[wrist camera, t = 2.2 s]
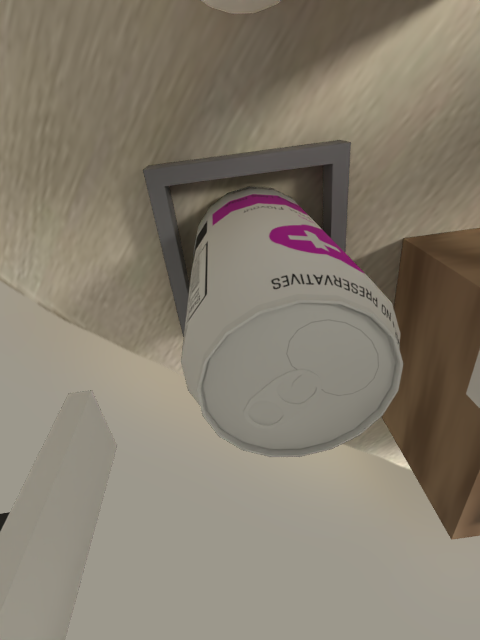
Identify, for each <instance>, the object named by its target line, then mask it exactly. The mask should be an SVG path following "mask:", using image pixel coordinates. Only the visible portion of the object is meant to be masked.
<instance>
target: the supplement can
mask: <svg viewBox="0 0 480 640" xmlns="http://www.w3.org/2000/svg"><path fill="white" fill-rule="evenodd" d="M181 363H182V367H183V372H184V376H185V380H186V384H187V388H188V391H189V392H190V394H191V395H192V396H193V397H194V399H195V400H196V401H197V402H198V404H199V405H200V406H201V411H202V415H203V417H204V418H205V419H206V421H207V422H208V423H209V424H210V426H211V427H212V428H213V430H214V431H215V432H216V433H217V435H218V436H219V437H221V438H222V439H224V440H226V441H227V442H229V443H231V444H233V445H234V446H236V447H238V448H239V449H241V450H243V451H248V452H252V453H256V454H261V455H265V456H269V457H293V456H294V457H295V456H296V457H297V456H298V457H300V456H305V455H309V454H313V453H317V452H322V451H326V450H330V449H333V448H335V447H337V446H339V445H341V444H343V443H345V442H347V441H349V440H351V439H353V438H355V437H357V436H359V435H360V434H361V433H363V432H364V431H365V430H366V429H367V428H368V427H370V426H371V425H372V424H373V423H374V422H375V421H377V420H378V419H379V418H380V417H381V416H382V415H383V414H384V412H385V411H386V409H387V408H388V406H389V405H390V403H391V401H392V400H393V398H394V397H395V395H396V394H397V392H398V390H399V384H400V379H401V374H402V369H403V360H402V357H401V353H400V330H399V326H398V323H397V319H396V315H395V312H394V308H393V305H392V302H391V301H390V300H389V299H388V298H387V297H386V296H385V295H384V294H383V292H382V291H381V290H380V289H379V288H378V287H377V286H376V285H375V284H374V283H373V281H372V280H371V279H370V278H369V277H368V276H367V275H366V274H365V273H364V272H363V271H362V270H361V269H360V268H359V267H358V266H357V265H356V264H355V263H354V262H353V261H352V260H351V259H350V257H349V256H348V255H347V254H346V253H345V252H344V251H343V250H342V249H341V248H340V247H339V246H338V245H337V244H336V243H335V242H334V241H333V240H332V239H331V238H330V237H329V236H328V235H327V234H326V233H325V232H324V231H323V230H322V229H321V228H320V227H319V226H318V225H317V224H316V223H315V222H314V220H313V219H312V218H311V217H310V216H309V215H308V214H307V213H306V212H305V211H304V210H303V209H302V208H301V207H300V206H299V205H298V204H297V203H296V202H295V201H294V200H293V199H292V198H291V197H289V196H287V195H285V194H283V193H281V192H279V191H277V190H275V189H272V188H264V187H246V188H243V189H240V190H236V191H233V192H230V193H227V194H226V195H225V196H223V197H222V198H221V199H219V200H218V201H217V202H216V203H214V204H213V205H212V206H210V207H209V209H208V211H207V212H206V214H205V216H204V217H203V219H202V220H201V222H200V224H199V225H198V230H197V235H196V240H195V245H194V253H193V262H192V271H191V279H190V288H189V296H188V305H187V314H186V322H185V331H184V339H183V348H182V357H181Z"/></svg>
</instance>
